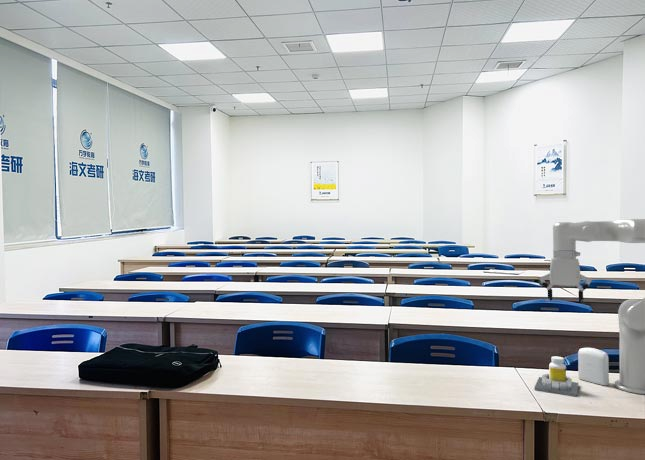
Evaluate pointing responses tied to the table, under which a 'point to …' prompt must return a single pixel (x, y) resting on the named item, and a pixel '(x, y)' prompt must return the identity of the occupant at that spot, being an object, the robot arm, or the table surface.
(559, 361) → the supplement bottle
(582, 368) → the photo printer
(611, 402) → the table surface
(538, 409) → the table surface
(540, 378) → the ring collar block
